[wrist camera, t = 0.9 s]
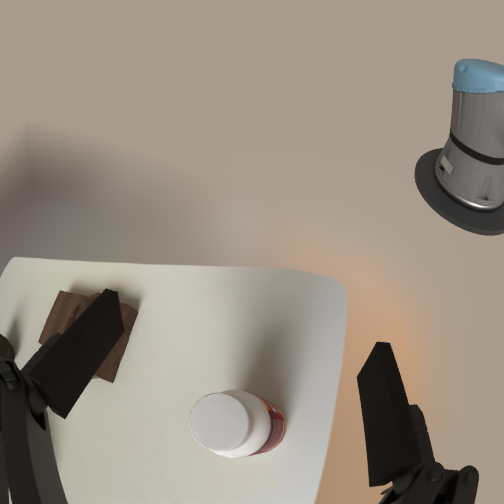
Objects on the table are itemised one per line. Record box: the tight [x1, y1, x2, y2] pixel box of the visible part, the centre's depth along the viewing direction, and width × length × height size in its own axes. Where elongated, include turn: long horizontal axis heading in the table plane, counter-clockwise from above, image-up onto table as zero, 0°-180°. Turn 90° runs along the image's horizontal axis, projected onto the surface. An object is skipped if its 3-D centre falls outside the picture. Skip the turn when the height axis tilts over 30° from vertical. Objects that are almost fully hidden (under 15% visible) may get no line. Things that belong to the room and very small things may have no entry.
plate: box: [38, 291, 138, 383], centre depth 38 cm, size 22×14×2 cm, turn 78°
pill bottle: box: [189, 390, 286, 458], centre depth 21 cm, size 6×6×11 cm
